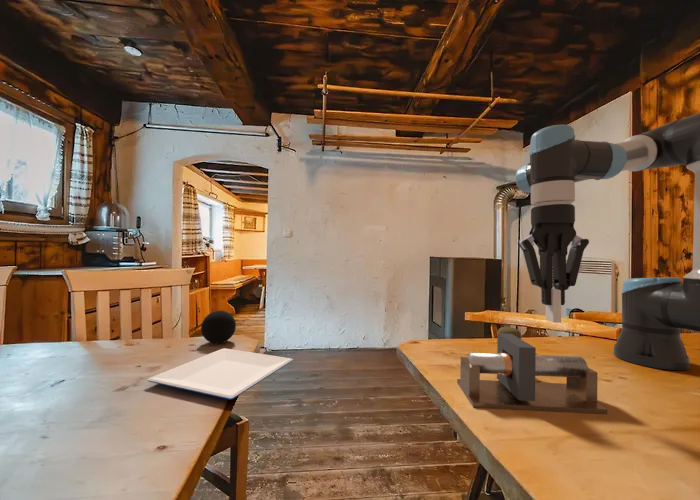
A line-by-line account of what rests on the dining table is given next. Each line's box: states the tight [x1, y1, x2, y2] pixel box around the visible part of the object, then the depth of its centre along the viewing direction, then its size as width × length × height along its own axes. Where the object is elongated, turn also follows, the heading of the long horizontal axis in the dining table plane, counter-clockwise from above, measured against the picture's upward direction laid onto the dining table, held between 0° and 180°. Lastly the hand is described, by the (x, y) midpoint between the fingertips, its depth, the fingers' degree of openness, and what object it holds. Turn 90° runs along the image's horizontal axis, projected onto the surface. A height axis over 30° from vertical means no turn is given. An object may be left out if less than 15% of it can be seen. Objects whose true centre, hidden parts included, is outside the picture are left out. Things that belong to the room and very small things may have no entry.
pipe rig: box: [456, 352, 608, 415], centre depth 63 cm, size 24×11×9 cm, turn 86°
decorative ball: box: [200, 310, 237, 344], centre depth 96 cm, size 10×10×10 cm
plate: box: [146, 347, 294, 401], centre depth 71 cm, size 22×22×2 cm
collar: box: [496, 333, 537, 401], centre depth 63 cm, size 3×10×10 cm, turn 176°
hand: (553, 320), depth 63 cm, fingers closed
